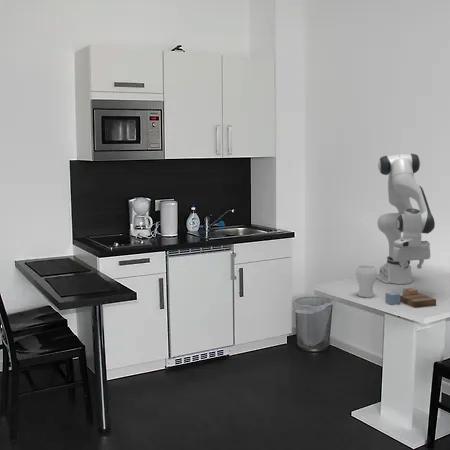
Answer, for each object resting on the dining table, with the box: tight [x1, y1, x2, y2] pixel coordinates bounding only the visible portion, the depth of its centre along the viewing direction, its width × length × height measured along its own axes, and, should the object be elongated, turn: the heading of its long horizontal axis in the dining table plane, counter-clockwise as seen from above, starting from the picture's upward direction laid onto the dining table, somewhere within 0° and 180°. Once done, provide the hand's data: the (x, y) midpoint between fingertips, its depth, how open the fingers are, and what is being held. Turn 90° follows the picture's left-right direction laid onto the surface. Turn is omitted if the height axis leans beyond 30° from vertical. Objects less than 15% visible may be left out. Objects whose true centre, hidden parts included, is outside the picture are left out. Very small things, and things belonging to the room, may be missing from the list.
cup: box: [355, 264, 378, 298], centre depth 318 cm, size 11×11×15 cm
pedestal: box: [400, 293, 437, 309], centre depth 302 cm, size 12×12×3 cm
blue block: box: [385, 291, 401, 306], centre depth 303 cm, size 5×5×5 cm
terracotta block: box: [402, 287, 419, 296], centre depth 311 cm, size 5×5×5 cm
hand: (411, 269), depth 309 cm, fingers open, 8 cm apart
